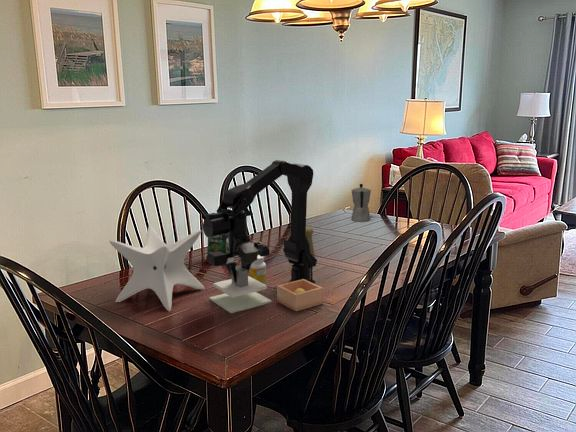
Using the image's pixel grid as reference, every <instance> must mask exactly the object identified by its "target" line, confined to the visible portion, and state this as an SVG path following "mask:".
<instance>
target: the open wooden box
mask: <svg viewBox="0 0 576 432" xmlns="http://www.w3.org/2000/svg"><path fill="white" fill-rule="evenodd" d="M298 288H302V289H304V290H305V292H301V293H297V294H296V293H294V292H295V290H296V289H298ZM276 301H277V302H278V303H280V304H282V305H283V306H285V307H287V308H289V309H291V310H293V311H295V312H299V311H301V310H306V309H309V308H312V307H315V306H319V305H322V304H324V287H322V286H319V285H318V284H316V283H311V282H309V281H307V280H305V279H301V280H297V281H293V282H290V281H289V282H286V283H283V284H278V285H276Z"/></svg>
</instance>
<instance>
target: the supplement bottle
mask: <svg viewBox="0 0 576 432" xmlns="http://www.w3.org/2000/svg"><path fill="white" fill-rule="evenodd" d="M257 258H258V259H257V260H255V261H254V262H253V263H252V264H251V266H250V269H249V276H250V277H251V278H253V279H255V280H257V281H259V282H261V283H263V284H265V285H267V264H266V262H264V259H265V256H263V257H261V256H260V255H258V256H257Z"/></svg>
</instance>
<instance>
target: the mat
mask: <svg viewBox="0 0 576 432" xmlns="http://www.w3.org/2000/svg"><path fill="white" fill-rule="evenodd" d="M208 299H209V300H210V301H211V302H213V303H215V304H216V305H218V306H219V307H221V308H223V310H225V311H227V312H228V313H229V314H234V313H238V312H241V311H246V310H249V309H252V308H257V307H261V306H265V305H268V304H271V303H272V302H273V301H272V300H271V299H270V298H268V297H266V296H264V295H263V294H260V293H259V292H258V291H256V292H253V293H249V294H245V295H241V296H237V297H233V298H232V297H230V296H229V295H227V294H225V293H221V294H218V295H217V294H216V295H214V296H213V295H212V296H210V297H209V298H208Z"/></svg>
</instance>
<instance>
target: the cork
mask: <svg viewBox="0 0 576 432" xmlns="http://www.w3.org/2000/svg"><path fill="white" fill-rule="evenodd" d="M313 233H314V230H313V228H312V227H310V226H306V238H307V240H308V242H309V244H310V253H311V254H312V255H313V256H315V248H314V241H313V236H312V235H314V234H313Z"/></svg>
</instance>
